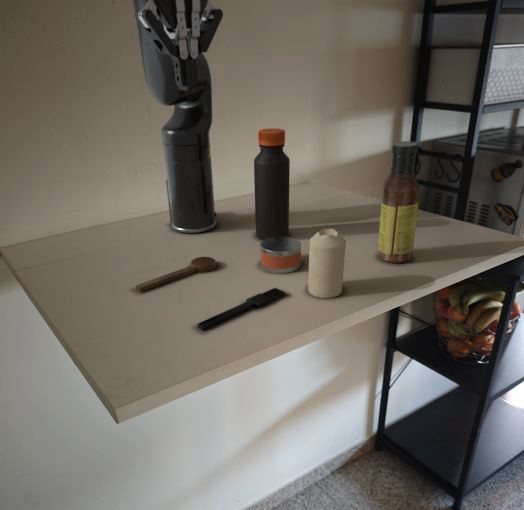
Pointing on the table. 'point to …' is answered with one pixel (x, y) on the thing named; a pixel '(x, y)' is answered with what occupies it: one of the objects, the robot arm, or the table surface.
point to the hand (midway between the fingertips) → (187, 89)
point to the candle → (326, 263)
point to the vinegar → (271, 185)
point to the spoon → (180, 273)
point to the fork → (243, 307)
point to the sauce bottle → (399, 205)
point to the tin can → (280, 254)
